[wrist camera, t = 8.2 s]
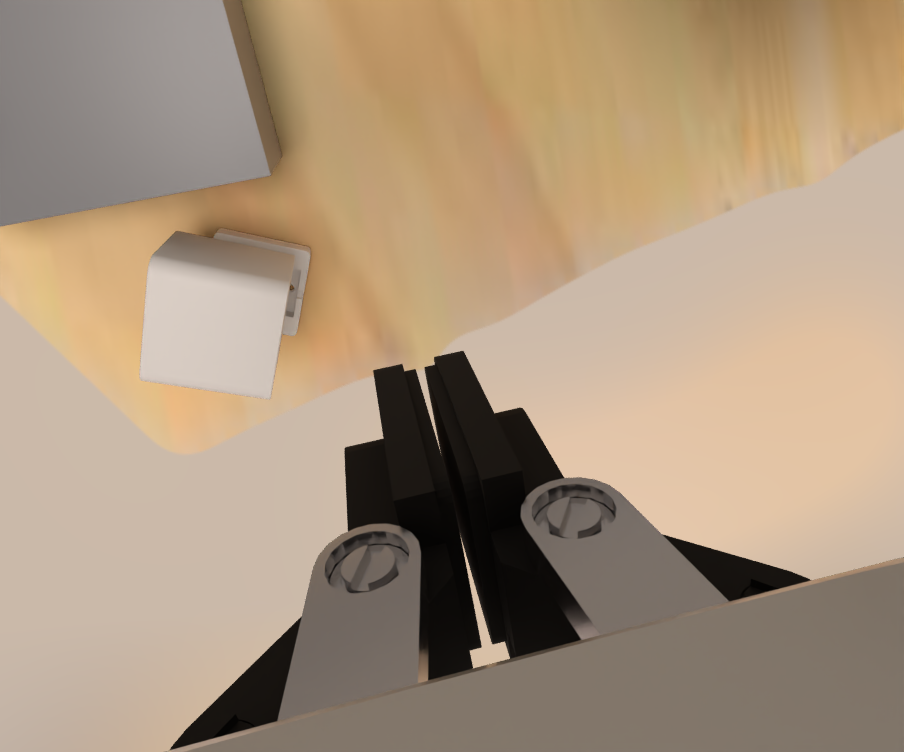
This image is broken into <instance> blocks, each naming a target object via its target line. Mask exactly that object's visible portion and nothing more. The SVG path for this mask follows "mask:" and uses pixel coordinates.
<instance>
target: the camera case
mask: <svg viewBox="0 0 904 752" xmlns="http://www.w3.org/2000/svg"><path fill="white" fill-rule="evenodd" d="M281 157H282V154H281V150H280V146H279V142H278V138H277V135H276V131H275V127H274V123H273V120H272V116H271V112H270V108H269V104H268V101H267V97H266V93H265V89H264V86H263V82H262V78H261V74H260V70H259V67H258V63H257V59H256V55H255V52H254V48H253V44H252V40H251V36H250V33H249V29H248V25H247V21H246V18H245V14H244V10H243V6H242V2H241V0H0V226H5V225H10V224H16V223H21V222H26V221H32V220H37V219H42V218H48V217H53V216H59V215H64V214H69V213H75V212H80V211H85V210H91V209H96V208H101V207H107V206H112V205H117V204H123V203H128V202H133V201H139V200H144V199H149V198H155V197H160V196H165V195H171V194H176V193H181V192H187V191H192V190H197V189H203V188H208V187H213V186H219V185H224V184H229V183H235V182H240V181H245V180H251V179H256V178H261V177H267V176H271V175H272V173H273V171H274V170H275V168H276V166H277V164H278V163H279V161H280V159H281Z"/></svg>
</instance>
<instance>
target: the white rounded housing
mask: <svg viewBox="0 0 904 752" xmlns="http://www.w3.org/2000/svg"><path fill="white" fill-rule="evenodd" d="M310 255H311V250H310V248H309V247H307V246H303V245H299V244H294V243H289V242H285V241H280V240H275V239H271V238H266V237H261V236H256V235H252V234H247V233H242V232H238V231H233V230H228V229H224V228H220V229H218V231H217V232H216V233H215V235H214V238H209V237H204V236H199V235H195V234H190V233H185V232H180V231H176V232H175V233H174V234H173V235H172V236H171V237H170V238H169V239H168V240H167V241H166V242H165V243H164V244H163V245H162V246H161V247H160V248H159V249H158V250H157V251H156V252H155V253H154V254H153V255H152V257H151V259H150V262H149V266H148V272H147V283H146V296H145V309H144V322H143V334H142V347H141V360H140V380H141V381H147V382H154V383H161V384H167V385H174V386H181V387H188V388H195V389H201V390H208V391H215V392H222V393H228V394H235V395H242V396H249V397H255V398H262V399H269V400H270V399H271V394H272V388H273V383H274V377H275V372H276V366H277V361H278V355H279V349H280V343H281V337H282V334H284V335H290V336H294V335H296V333H297V329H298V323H299V318H300V312H301V307H302V301H303V295H304V290H305V284H306V278H307V273H308V267H309V261H310ZM290 285H293V286H294V289H293V290H290Z"/></svg>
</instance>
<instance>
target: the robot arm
mask: <svg viewBox="0 0 904 752" xmlns="http://www.w3.org/2000/svg"><path fill="white" fill-rule="evenodd" d="M434 362H435V365H432V366H428V367H425V373H426V379H427V384H428V389H429V394H430V400H431V405H432V409H433V415H434V420H435V425H436V430H437V435H438V441H439V446H440V449H439V446H438V443H437V440H436V436H435V433H434V429H433V426H432V423H431V419H430V416H429V413H428V409H427V406H426V403H425V399H424V396H423V393H422V389H421V386H420V382H419V379H418V376H417V372H416V369H414V370H409V371H405V372H404V369H403V365H402V364H400V365H396V366H391V367H386V368H382V369H377V370H373V372H374V378H375V385H376V392H377V398H378V404H379V410H380V418H381V424H382V431H383V437H384V439H380V440H376V441H372V442H367V443H363V444H358V445H354V446H349V447H346V448H345V474H346V495H347V496H346V497H347V520H348V532H346V533H344V534H342V535H340V536H339V537H337V538H336V539H335V540H333V541H332V542H331V543H329V544H328V545H327V546H326V547H325V548H324V550H323V551H322V552H321V553H320V555H319V556H318V558H317V560H316V562H315V565H314V567H313V571H312V575H311V579H310V584H309V588H308V592H307V596H306V601H305V605H304V609H303V614H302V617H301V618H300V619H298V621H296V622H295V623H294V624H293V625H292V627H291V628H289V629H288V630H287V631H286V632H285V633H284V634H283V635H282V636H281V637H280V638H279V639H278V640H277V641H276V642H275V643H274V644H273V645H272V646H271V647H270V648H269V649H268V650H267V651H266V652H265V653H264V654H263V655H262V656H261V657H260V658H259V659H258V660H257V661H256V662H255V663H254V664H253V665H251V667H250V668H248V669H247V670H246V671H245V672H244V674H242V675H241V676H240V677H239V678H238V679H237V680H236V681H235V682H234V683H233V684H232V685H231V686H230V687H229V688H228V689H227V690H226V691H225V692H224V693H223V694H222V695H221V696H220V697H219V698H218V699H217V700H216V701H215V702H214V703H213V704H212V705H211V706H210V707H209V708H208V709H206V711H204V712H203V714H201V715H200V716H199V717H198V718H197V719H196V721H194V722H193V723H192V724H191V725H190V726H189V727H188V728H187V729H186V730H185V731H184V733H183V734H182V735H181V736H180V738H179V739H178V740H177V741H176V742H175V743H174V745H173V746H172V747H171V749H170V750H169V751H166V752H904V557H903V558H898V559H894V560H890V561H886V562H883V563H879V564H875V565H871V566H867V567H863V568H860V569H855V570H851V571H848V572H843V573H839V574H835V575H831V576H827V577H824V578H819V579H815V580H810V579H808V578H806V577H803V576H800V575H798V574H795V573H793V572H790V571H787V570H783V569H780V568H777V567H773V566H770V565H766V564H763V563H760V562H756V561H752V560H749V559H746V558H742V557H739V556H735V555H731V554H728V553H725V552H721V551H718V550H714V549H711V548H707V547H704V546H701V545H697V544H694V543H690V542H686V541H683V540H680V539H676V538H673V537H669V536H666V535H662V534H661V533H660V532H659V531H658V530H657V529H656V528H655V527H654V526H653V525H652V524H651V523H650V522H649V521H648V520H647V519H646V518H645V517H644V516H643V515H642V514H641V513H640V512H639V511H638V510H637V509H636V508H635V507H634V506H633V505H632V504H631V503H630V502H629V501H628V500H627V499H626V498H625V497H624V496H623V495H622V494H621V493H620V492H618V491H617V490H615V489H614V488H613V487H611V486H610V485H608V484H605V483H602V482H600V481H597V480H593V479H587V478H564V477H563V475H562V473H561V472H560V470H559V468H558V467H557V465H556V464H555V462H554V460H553V458H552V457H551V455H550V453H549V451H548V450H547V448H546V446H545V445H544V443H543V441H542V440H541V438H540V436H539V434H538V433H537V431H536V429H535V428H534V426H533V424H532V422H531V421H530V419H529V417H528V416H527V414H526V412H525V411H524V410H523V408H517V409H512V410H508V411H503V412H499V413H494V412H493V410H492V408H491V406H490V404H489V402H488V400H487V398H486V396H485V394H484V392H483V390H482V387H481V385H480V383H479V381H478V380H477V377H476V375H475V373H474V371H473V369H472V367H471V365H470V363H469V361H468V359H467V357H466V355H465V353H464V351H460V352H455V353H451V354H446V355H442V356H437V357H434ZM440 451H441V453H440ZM460 535H461V536H460ZM461 538H462V542H463V545H464V548H465V552H466V556H467V559H468V563H469V566H470V570H471V573H472V576H473V580H474V583H475V586H476V590H477V594H478V597H479V601H480V604H481V608H482V611H483V615H484V618H485V621H486V625H487V628H488V632H489V635H490V638H491V642H492V644H496V643H500V642H504V641H505V643H506V646H507V649H508V653H509V656H510V659H508V660H504V661H500V662H496V663H492V664H489V665H485V666H481V667H477V668H474V669H472V668H473V666H472V661H471V656H470V650H473V649H477V648H481V641H480V635H479V630H478V625H477V620H476V614H475V609H474V604H473V599H472V594H471V588H470V584H469V578H468V573H467V568H466V562H465V557H464V552H463V547H462V542H461Z"/></svg>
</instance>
